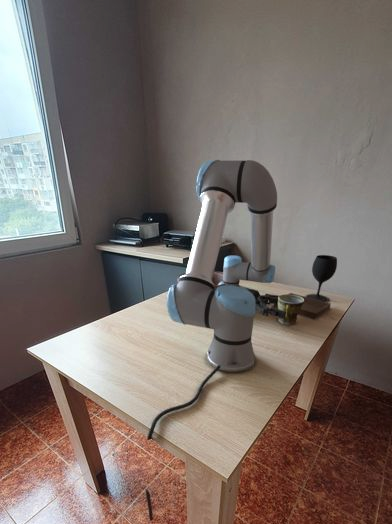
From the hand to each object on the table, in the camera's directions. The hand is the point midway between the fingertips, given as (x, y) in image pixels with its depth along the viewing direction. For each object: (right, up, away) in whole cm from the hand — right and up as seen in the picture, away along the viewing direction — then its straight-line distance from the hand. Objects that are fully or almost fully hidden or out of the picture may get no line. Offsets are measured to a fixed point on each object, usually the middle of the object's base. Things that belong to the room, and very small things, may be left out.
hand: (293, 310), depth 114 cm
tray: (+10, +4, +18) cm, 21 cm away
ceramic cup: (-1, -5, +4) cm, 6 cm away
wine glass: (+21, +10, +29) cm, 37 cm away
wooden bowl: (-35, +9, +26) cm, 44 cm away
